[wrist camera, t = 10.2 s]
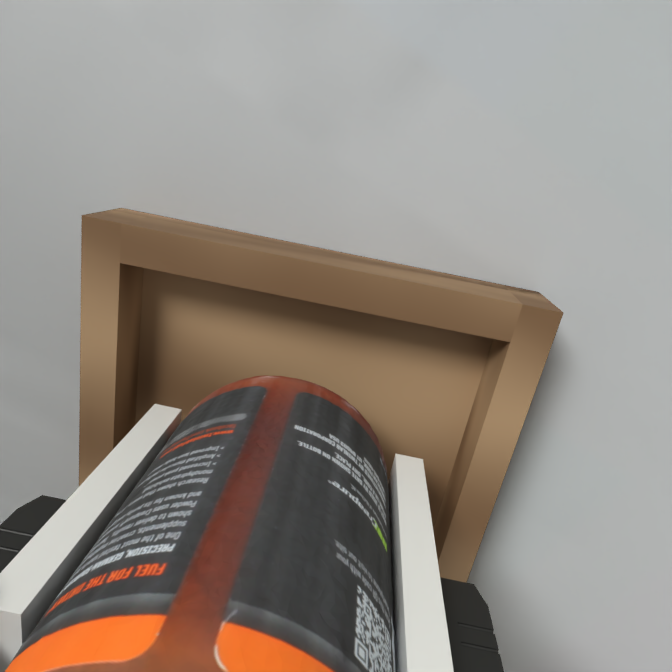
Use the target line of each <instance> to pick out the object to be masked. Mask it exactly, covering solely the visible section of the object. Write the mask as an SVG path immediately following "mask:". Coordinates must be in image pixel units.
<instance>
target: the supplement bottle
mask: <svg viewBox="0 0 672 672" xmlns="http://www.w3.org/2000/svg"><path fill="white" fill-rule="evenodd" d="M391 571H392V566H391V546H390V523H389V491H388V480H387V467H386V463H385V459H384V455H383V451H382V448H381V446H380V443H379V440H378V438H377V436H376V434H375V433H374V431H373V430H372V428H371V426H370V424H369V423H368V422H367V421H366V420H365V418H364V417H363V416H362V415H361V414H360V412H359V411H358V410H357V409H356V408H355V407H353V406H352V405H351V404H349V403H348V402H347V401H346V400H345V399H344V398H342V397H341V396H340V395H338V394H336V393H334V392H333V391H331V390H329V389H327V388H325V387H323V386H320V385H318V384H315V383H312V382H309V381H305V380H301V379H297V378H290V377H284V376H267V375H264V376H254V377H251V378H245V379H242V380H238V381H236V382H233V383H230V384H227V385H225V386H223V387H221V388H219V389H217V390H216V391H214V392H212V393H211V394H209V395H208V396H207V397H205V398H204V399H203V400H201V401H200V402H199V403H198V404H197V405H196V406H195V407H194V408H193V409H192V410H191V411H190V412H189V414H188V415H187V416H186V418H185V419H184V420H183V421H182V422H181V423H180V425H179V426H178V427H177V428H176V430H175V431H174V432H173V434H172V435H171V437H170V438H169V440H168V441H167V443H166V444H165V445H164V447H163V448H162V449H161V451H160V452H159V454H158V455H157V457H156V458H155V460H154V461H153V462H152V464H151V465H150V467H149V468H148V469H147V471H146V472H145V474H144V475H143V476H142V477H141V479H140V481H139V482H138V483H137V485H136V486H135V488H134V489H133V490H132V492H131V493H130V495H129V496H128V497H127V499H126V500H125V501H124V503H123V504H122V506H121V507H120V508H119V510H118V511H117V513H116V515H115V516H114V517H113V519H112V520H111V521H110V522H109V524H108V525H107V527H106V528H105V530H104V531H103V533H102V534H101V536H100V537H99V539H98V540H97V542H96V543H95V545H94V546H93V547H92V549H91V550H90V551H89V553H88V554H87V555H86V556H85V558H84V560H83V561H82V562H81V564H80V565H79V566H78V568H77V569H76V570H75V572H74V573H73V575H72V576H71V577H70V579H69V580H68V582H67V583H66V584H65V586H64V587H63V589H62V590H61V592H60V593H59V595H58V596H57V597H56V599H55V600H54V601H53V603H52V604H51V605H50V606H49V608H48V609H47V611H46V612H45V614H44V615H43V617H42V618H41V619H40V621H39V622H38V624H37V625H36V627H35V628H34V630H33V631H32V633H31V634H30V635H29V636H28V638H27V639H26V640H25V641H24V643H23V644H22V646H21V647H20V649H19V650H18V652H17V653H16V655H15V657H14V658H13V660H12V661H11V663H10V664H9V666H8V668H7V669H6V670H5V672H395V649H394V628H393V599H392V581H391Z"/></svg>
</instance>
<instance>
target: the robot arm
mask: <svg viewBox="0 0 672 672" xmlns="http://www.w3.org/2000/svg"><path fill="white" fill-rule="evenodd" d="M181 414H182V409H178V408H173V407H168V406H163V405H159V404H154V405H153V406H152V407H151V409H150V410H149V411H148V412H147V413H146V414H145V415H144V416H143V417H142V418H141V420H140V421H139V422H138V423H137V424H136V425H135V426H134V427H133V428H132V429H131V430H130V432H129V433H128V434H127V435H126V436H125V437H124V438H123V439H122V440H121V441H120V443H119V444H118V445H117V446H116V447H115V448H114V449H113V450H112V451H111V452H110V453H109V455H108V456H107V457H106V458H105V459H104V460H103V461H102V462H101V463H100V464H99V466H98V467H97V468H96V469H95V470H94V471H93V472H92V473H91V474H90V475H89V476H88V478H87V479H86V480H85V481H84V482H83V483H82V484H81V485H80V486H79V487H78V489H77V490H76V491H75V492H74V493H73V494H72V495H71V496H70V497H69V498H68V499H67V500H63V499H58V498H53V497H48V496H43V495H42V496H40V497H38V498H36V499H35V500H33V501H31V502H29V503H27V504H25V505H23V506H22V507H20V508H18V509H17V510H16V511H15V512H14V513H13V514H11V515H10V516H9V517H8V518H7V519H6V520H5V521H4V522H3V523H2V524H1V525H0V672H5V670H6V669H7V668H8V666H9V664H10V663H11V661H12V660H13V658H14V657H15V655H16V653H17V652H18V650H19V649H20V647H21V646H22V644H23V643H24V641H25V640H26V639H27V638H28V636H29V635H30V634H31V633H32V631H33V630H34V628H35V627H36V625H37V624H38V622H39V621H40V619H41V618H42V617H43V615H44V614H45V612H46V611H47V609H48V608H49V606H50V605H51V604H52V603H53V601H54V600H55V599H56V597H57V596H58V595H59V593H60V592H61V590H62V589H63V587H64V586H65V584H66V583H67V582H68V580H69V579H70V577H71V576H72V575H73V573H74V572H75V570H76V569H77V568H78V566H79V565H80V564H81V562H82V561H83V560H84V558H85V556H86V555H87V554H88V553H89V551H90V550H91V549H92V547H93V546H94V545H95V543H96V542H97V540H98V539H99V537H100V536H101V534H102V533H103V531H104V530H105V528H106V527H107V525H108V524H109V522H110V521H111V520H112V519H113V517H114V516H115V515H116V513H117V511H118V510H119V508H120V507H121V506H122V504H123V503H124V501H125V500H126V499H127V497H128V496H129V495H130V493H131V492H132V490H133V489H134V488H135V486H136V485H137V483H138V482H139V481H140V479H141V477H142V476H143V475H144V474H145V472H146V471H147V469H148V468H149V467H150V465H151V464H152V462H153V461H154V460H155V458H156V457H157V455H158V454H159V452H160V451H161V449H162V448H163V447H164V445H165V444H166V443H167V441H168V440H169V438H170V437H171V435H172V434H173V432H174V431H175V430H176V428H177V427H178V426H179V425H180V423H181ZM388 491H389V523H390V546H391V566H392V571H391V581H392V599H393V628H394V649H395V672H504V671H503V666H502V662H501V658H500V654H498V646H497V642H496V638H495V634H493V630H494V629H493V625H492V621H491V617H490V613H489V609H488V606H487V604H486V603H485V601H484V599H483V598H482V596H481V595H480V593H479V592H478V590H477V589H476V587H475V586H474V584H470V583H465V582H461V581H456V580H451V579H446V578H442V577H440V573H439V566H438V560H437V553H436V546H435V539H434V532H433V525H432V518H431V511H430V504H429V498H428V491H427V484H426V477H425V470H424V463H423V459H420V458H415V457H410V456H405V455H400V454H395V457H394V461H393V465H392V469H391V472H390V476H389V480H388Z"/></svg>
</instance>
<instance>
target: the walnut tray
mask: <svg viewBox="0 0 672 672" xmlns="http://www.w3.org/2000/svg"><path fill="white" fill-rule="evenodd" d="M562 315H563V312H562V311H561V310H560V309H558V308H557V307H556V306H555V305H554V304H552V303H551V302H550V301H549V300H548V299H546V298H545V297H544V296H543V295H542V294H540V293H539V292H536V291H531V290H526V289H521V288H516V287H511V286H506V285H501V284H496V283H491V282H486V281H481V280H476V279H471V278H466V277H461V276H456V275H451V274H446V273H441V272H436V271H431V270H426V269H421V268H417V267H412V266H407V265H402V264H397V263H392V262H387V261H382V260H377V259H372V258H367V257H362V256H357V255H352V254H347V253H342V252H337V251H332V250H327V249H322V248H317V247H312V246H307V245H302V244H297V243H292V242H288V241H283V240H278V239H273V238H268V237H263V236H258V235H253V234H248V233H243V232H238V231H233V230H228V229H223V228H218V227H213V226H208V225H203V224H198V223H193V222H188V221H183V220H178V219H173V218H168V217H164V216H159V215H154V214H149V213H144V212H139V211H134V210H129V209H124V208H118V209H113V210H108V211H103V212H97V213H92V214H87V215H82V248H81V341H80V435H79V486H80V485H81V484H82V483H83V482H84V481H85V480H86V479H87V478H88V476H89V475H90V474H91V473H92V472H93V471H94V470H95V469H96V468H97V467H98V466H99V464H100V463H101V462H102V461H103V460H104V459H105V458H106V457H107V456H108V455H109V453H110V452H111V451H112V450H113V449H114V448H115V447H116V446H117V445H118V444H119V443H120V441H121V440H122V439H123V438H124V437H125V436H126V435H127V434H128V433H129V432H130V430H131V429H132V428H133V427H134V426H135V425H136V424H137V423H138V422H139V421H140V420H141V418H142V417H143V416H144V415H145V414H146V413H147V412H148V411H149V410H150V409H151V407H152V406H153V405H154V404H159V405H163V406H168V407H173V408H178V409H182V414H181V422H182V421H183V420H184V419H185V418H186V416H187V415H188V414H189V412H190V411H191V410H192V409H193V408H194V407H195V406H196V405H197V404H198V403H199V402H200V401H201V400H203V399H204V398H205V397H207V396H208V395H209V394H211V393H212V392H214V391H216V390H217V389H219V388H221V387H223V386H225V385H227V384H230V383H233V382H236V381H238V380H242V379H245V378H251V377H254V376H264V375H267V376H284V377H290V378H297V379H301V380H305V381H309V382H312V383H315V384H318V385H320V386H323V387H325V388H327V389H329V390H331V391H333V392H334V393H336V394H338V395H340V396H341V397H342V398H344V399H345V400H346V401H347V402H348V403H349V404H351V405H352V406H353V407H355V408H356V409H357V410H358V411H359V412H360V414H361V415H362V416H363V417H364V418H365V420H366V421H367V422H368V423H369V424H370V426H371V428H372V430H373V431H374V433H375V434H376V436H377V438H378V440H379V443H380V446H381V448H382V451H383V455H384V459H385V463H386V467H387V480H389V476H390V472H391V469H392V465H393V461H394V457H395V454H400V455H405V456H410V457H415V458H420V459H423V463H424V470H425V477H426V484H427V491H428V498H429V504H430V511H431V518H432V525H433V532H434V539H435V546H436V553H437V560H438V566H439V573H440V577H442V578H446V579H451V580H456V581H461V582H465V583H466V582H467V579H468V577H469V574H470V571H471V568H472V566H473V563H474V560H475V557H476V554H477V552H478V549H479V546H480V543H481V541H482V538H483V535H484V532H485V529H486V527H487V524H488V521H489V518H490V515H491V513H492V510H493V507H494V504H495V502H496V499H497V496H498V493H499V490H500V488H501V485H502V482H503V479H504V477H505V474H506V471H507V468H508V465H509V463H510V460H511V457H512V454H513V452H514V449H515V446H516V443H517V440H518V438H519V435H520V432H521V429H522V427H523V424H524V421H525V418H526V415H527V413H528V410H529V407H530V404H531V401H532V399H533V396H534V393H535V390H536V388H537V385H538V382H539V379H540V376H541V374H542V371H543V368H544V365H545V363H546V360H547V357H548V354H549V351H550V349H551V346H552V343H553V340H554V338H555V335H556V332H557V329H558V326H559V324H560V321H561V318H562Z"/></svg>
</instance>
